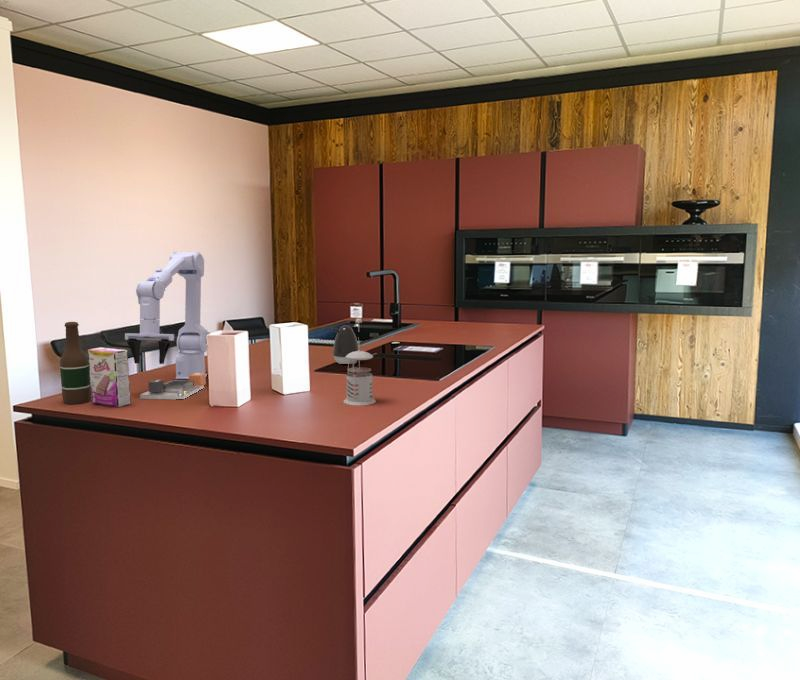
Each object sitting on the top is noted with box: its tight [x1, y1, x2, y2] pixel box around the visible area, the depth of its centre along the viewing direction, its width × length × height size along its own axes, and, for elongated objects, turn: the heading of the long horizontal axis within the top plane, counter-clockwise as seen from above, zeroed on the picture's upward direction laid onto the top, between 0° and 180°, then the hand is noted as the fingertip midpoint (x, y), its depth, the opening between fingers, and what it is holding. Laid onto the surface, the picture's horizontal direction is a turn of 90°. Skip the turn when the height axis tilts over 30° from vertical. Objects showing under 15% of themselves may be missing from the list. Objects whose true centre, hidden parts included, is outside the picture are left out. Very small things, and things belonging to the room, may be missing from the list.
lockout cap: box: [188, 373, 207, 386], centre depth 217 cm, size 4×4×4 cm
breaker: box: [147, 379, 164, 392], centre depth 203 cm, size 3×4×3 cm
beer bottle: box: [59, 321, 92, 405], centre depth 194 cm, size 8×8×24 cm
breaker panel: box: [139, 379, 205, 400], centre depth 206 cm, size 14×15×3 cm
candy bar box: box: [87, 346, 132, 408], centre depth 192 cm, size 11×5×16 cm, turn 65°
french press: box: [343, 318, 377, 406], centre depth 194 cm, size 10×12×25 cm
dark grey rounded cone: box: [331, 325, 359, 365], centre depth 256 cm, size 10×10×15 cm
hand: (149, 363), depth 202 cm, fingers open, 7 cm apart
